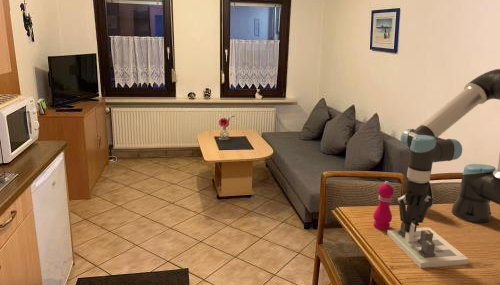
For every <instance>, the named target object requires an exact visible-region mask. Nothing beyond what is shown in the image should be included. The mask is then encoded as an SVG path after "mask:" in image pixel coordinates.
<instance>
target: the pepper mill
mask: <svg viewBox="0 0 500 285" xmlns="http://www.w3.org/2000/svg"><path fill="white" fill-rule="evenodd" d="M394 192H395V191H394V188H393V186H392V185H391V184H390V181H388V180H385V181H384V183H383V184H380V185H379V186H378V188H377V193H378V200H379V202H378V205H377V207H376V209H375V211H374V212H373V216H372V217H373V219H374V220H373V227H374V228H376V230H379V229H380V231H387V230H390V228H391V227H390V224H391V222H392V219H393V216H392V214H393V213H392V212H391V208H390V204H391V202H392V199H393V198H392V196H393V195H394Z"/></svg>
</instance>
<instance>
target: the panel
mask: <svg viewBox="0 0 500 285" xmlns="http://www.w3.org/2000/svg"><path fill="white" fill-rule="evenodd" d="M400 229H401V228H399V229H396V228H395V229H388V230H386V231H387V232H386V233H387V234H386V235H387V236H388V237H389V238H390V239H391V240H392V241H393V242H394V243H395V244H396V246H397V247H399V248H400V249H401V251H403V252H404V253H405V254H406V255H407V256H408V257H409V258H410V259H411V261H413V262H414V263H415V264H416V265H417V266H418V267H419V269H424V268H436V267H449V266H461V265H468V264H469V258H468V256H466V255H464V254H463V253H462V252H460V251H459V250H458V249H457V248H456V247H455V246H454V245H452V244H451V243H449V242H448V241H447V240H446V239H445V238H444V237H442V236H440V235H439V233H437V232H436V231H434V229H432V228H431V227H429V226H425V227H417V228H416V232H414V236H413V242H409V241H408V240H406V239H405V237H402V236H401V235H400V234H399V233H398V231H400ZM422 230H429V231H431V232H432V233H433V239H432V242H433V243H434V244H435V248H434V253H435V254H436V255H435V256H431V257H423V256H422V255H421V254H420V253H419V250H421V247H422V245H421V244H420V243H419V242H418V239H420V236H421V231H422Z"/></svg>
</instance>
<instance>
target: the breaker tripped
mask: <svg viewBox="0 0 500 285" xmlns="http://www.w3.org/2000/svg"><path fill="white" fill-rule="evenodd" d="M432 239H433V233H432V232H431V231H429V230H422V231H421V236H420V239H418V242H419V243H420V244H421V245H422V241H429V240H430V241H432Z"/></svg>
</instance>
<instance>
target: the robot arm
mask: <svg viewBox="0 0 500 285" xmlns="http://www.w3.org/2000/svg"><path fill="white" fill-rule="evenodd" d="M488 100H498V101H500V68H496V69H492V70H490V71H487V72H484V73H482V74H480V75H479V76H477V77H475V78H474V79H472V80H471V81H469V82H468V83H466V85H465V86H464V88H463V91H461V92H460V93H459V94H457V96H455V97H453V98H452V99H451V100H449V101H448V102H447V103H446V104H445V105H443V107H441V108H440V109H439V110H438V111H436V112H435V113H434V114H433V115H431V116H430V117H429V118H427V119H426V120H425V121H424V122H423V123H422V124H420V125H419V126H418V127H416V128H415V129H414V128H407V129H405V130H403V132H402V133H401V136H400V144H401V145H402V146H403V147H404V148H407V149H409V150H410V151H409V157H408V158H409V159H408V165H407V173H406V177H407V178H406V179H405V186H404V187H405V189H404V190H405V191H404V192H403V195H402V196H397V197H396V200H397V202H398V209H399V217H400V221H401V222H403V223H404V224H405V229H404V230H405V232H406V234H405V239H406V240H408V241H409V242H413V236H414V232H416V228H418V227H419V225H420V223H421V224H422V223H423V222H424V219H425V218H426V214H427V212H428V211H429V210H428V207H429V205H430V203H431V202H432V201H433V202H434V198H433V199H432V198H431V197H430V196H428V194H427V192H428V188H429V182H430V180H431V175H432V170H433V169H432V167H433V164H434V163H440V162H451V161H454V160H458V159H460V157H461V156H462V153H463V145H462V144H461V142H460V141H459V140H458V139H454V138H447V139H444V138H441V137H440V136H441V135H443V134H444V133H445V132H446V131H447V130H449V129H450V128H451V127H452V126H453V125H455V124H456V123H457V122H459V121H460V119H462V118H464V117H465V116H466V115H467V114H468V113H469V112H470V111H472V110H473V109H474V108H476V107H477V106H478V105H483V104H485V103H486V102H487V101H488ZM498 157H499V158H498V165H497V169H496V167H495V166H493V165H491V164H482V163H471V164H470V163H469V164H467V165H465V166H464V168H463V172H462V174H461V176H462V177H461V182H460V187H459V193H458V194H459V195H458V197H457V199H455V202H454V204H452V207H451V213H452V214H453V215H454V216H455V217H457V218H459V219H461V220H464V221H467V222H471V223H488V222H490V221H491V218H492V212H491V205H490V202H492V203H494V204H497V205H499V206H500V154H499V155H498ZM427 210H428V211H427Z"/></svg>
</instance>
